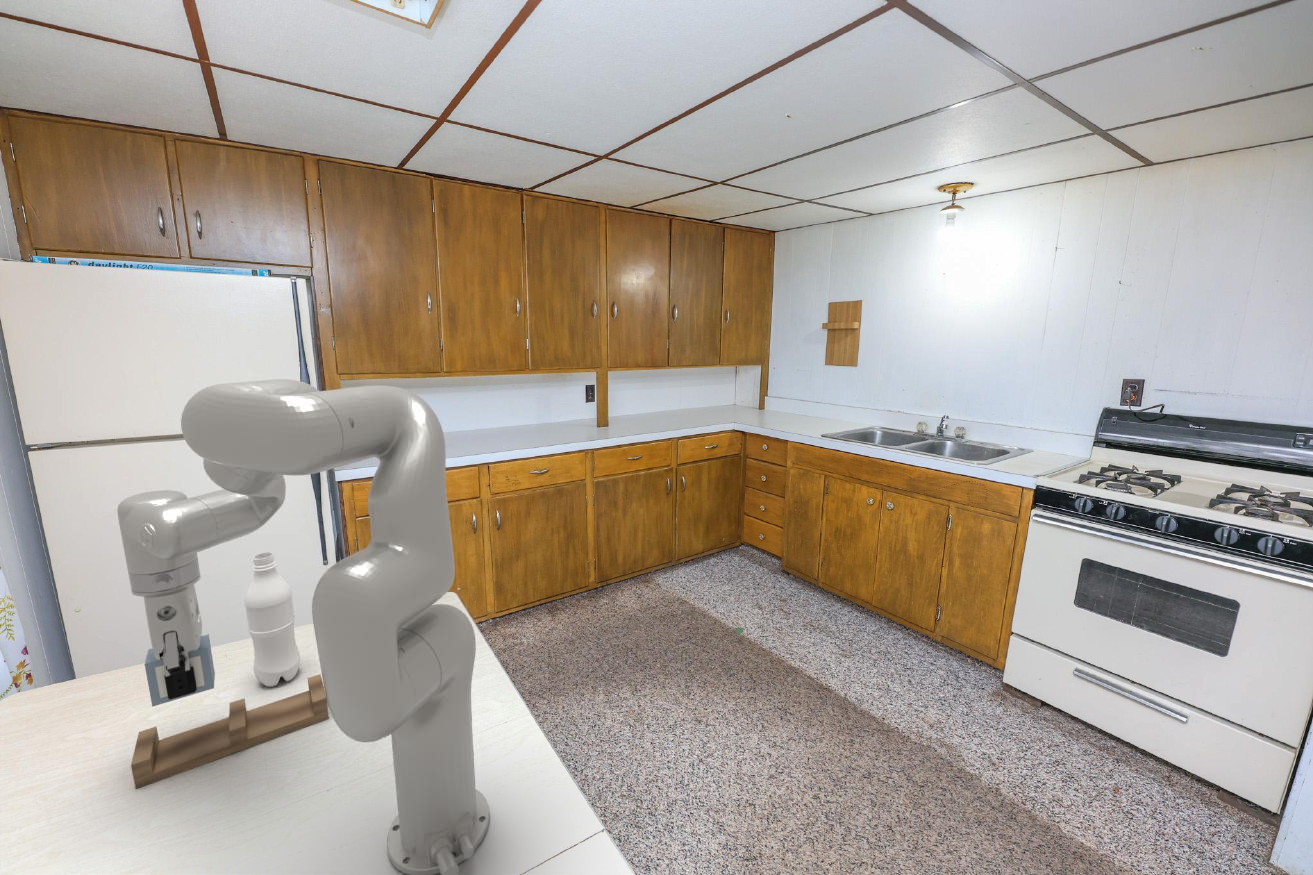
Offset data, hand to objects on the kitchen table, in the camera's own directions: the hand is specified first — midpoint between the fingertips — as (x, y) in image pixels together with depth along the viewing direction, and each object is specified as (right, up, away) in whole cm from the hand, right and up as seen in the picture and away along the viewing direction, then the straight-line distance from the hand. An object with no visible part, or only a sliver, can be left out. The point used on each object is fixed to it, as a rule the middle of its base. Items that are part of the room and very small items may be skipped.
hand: (184, 684), depth 81 cm
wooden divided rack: (+4, -11, +6) cm, 13 cm away
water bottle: (0, -8, +20) cm, 22 cm away
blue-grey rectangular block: (0, -1, 0) cm, 1 cm away
